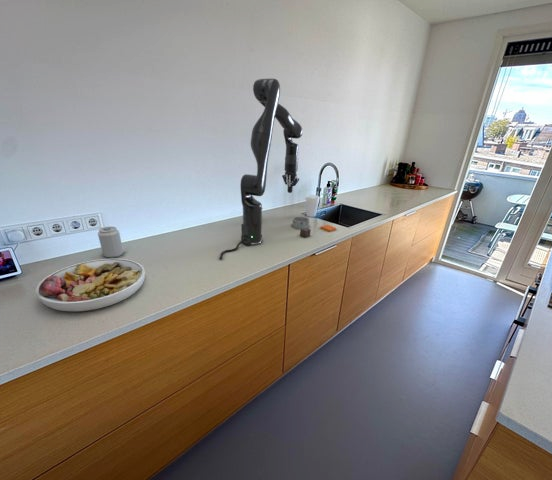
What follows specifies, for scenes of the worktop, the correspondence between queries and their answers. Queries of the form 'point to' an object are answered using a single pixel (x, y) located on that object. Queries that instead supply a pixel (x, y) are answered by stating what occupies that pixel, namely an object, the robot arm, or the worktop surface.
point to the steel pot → (300, 222)
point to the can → (110, 242)
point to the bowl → (91, 284)
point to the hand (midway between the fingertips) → (289, 192)
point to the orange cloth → (328, 228)
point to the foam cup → (311, 205)
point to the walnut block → (305, 232)
